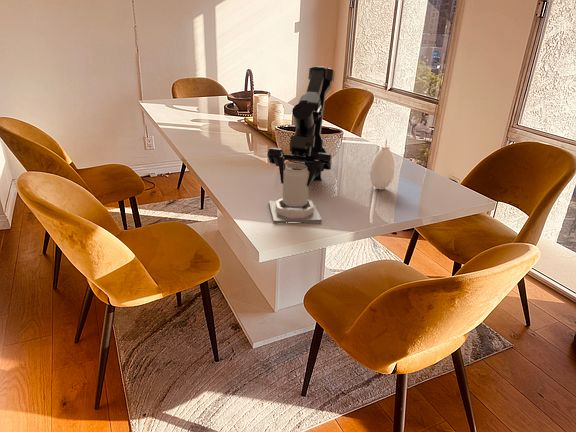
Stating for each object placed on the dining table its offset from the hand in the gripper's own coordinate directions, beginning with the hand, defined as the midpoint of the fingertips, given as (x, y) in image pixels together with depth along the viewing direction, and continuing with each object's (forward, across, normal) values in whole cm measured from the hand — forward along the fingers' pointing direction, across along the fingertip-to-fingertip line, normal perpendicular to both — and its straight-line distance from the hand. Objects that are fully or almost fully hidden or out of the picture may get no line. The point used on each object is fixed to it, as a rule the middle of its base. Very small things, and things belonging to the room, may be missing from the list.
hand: (294, 184), depth 130 cm
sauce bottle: (-14, +25, +28) cm, 40 cm away
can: (+4, 0, +6) cm, 7 cm away
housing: (+6, 0, +8) cm, 10 cm away
